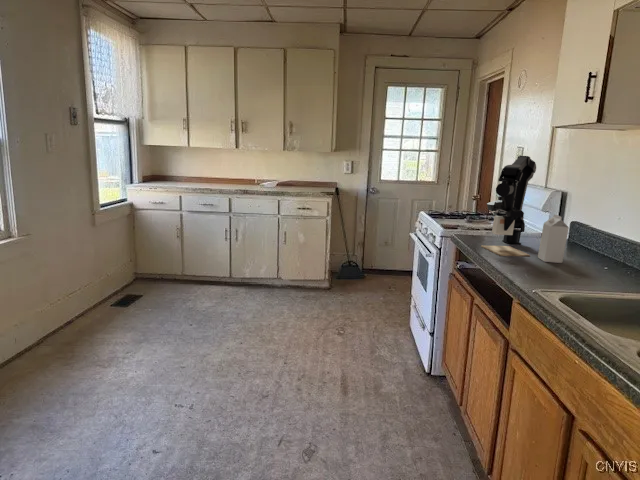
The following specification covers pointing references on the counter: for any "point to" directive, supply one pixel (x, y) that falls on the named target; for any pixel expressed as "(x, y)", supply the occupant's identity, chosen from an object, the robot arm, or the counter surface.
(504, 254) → the mat
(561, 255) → the milk carton
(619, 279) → the counter surface
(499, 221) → the cream box
